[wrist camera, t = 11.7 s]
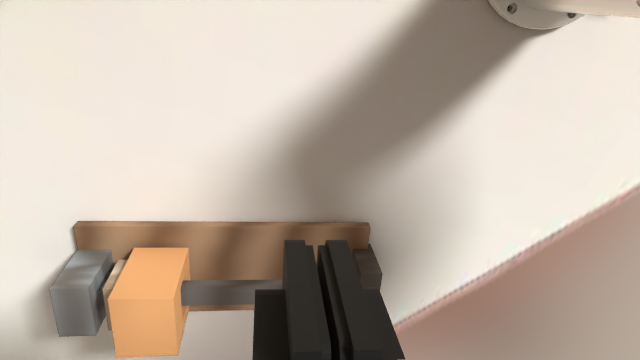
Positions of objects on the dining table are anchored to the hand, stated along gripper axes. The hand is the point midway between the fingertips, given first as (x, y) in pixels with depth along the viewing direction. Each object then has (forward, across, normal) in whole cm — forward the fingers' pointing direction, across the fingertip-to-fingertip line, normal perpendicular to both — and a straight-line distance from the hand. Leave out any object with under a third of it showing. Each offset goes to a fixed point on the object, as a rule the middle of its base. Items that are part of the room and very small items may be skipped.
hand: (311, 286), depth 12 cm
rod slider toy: (+29, +4, +19) cm, 35 cm away
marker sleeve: (+28, +11, +19) cm, 35 cm away
